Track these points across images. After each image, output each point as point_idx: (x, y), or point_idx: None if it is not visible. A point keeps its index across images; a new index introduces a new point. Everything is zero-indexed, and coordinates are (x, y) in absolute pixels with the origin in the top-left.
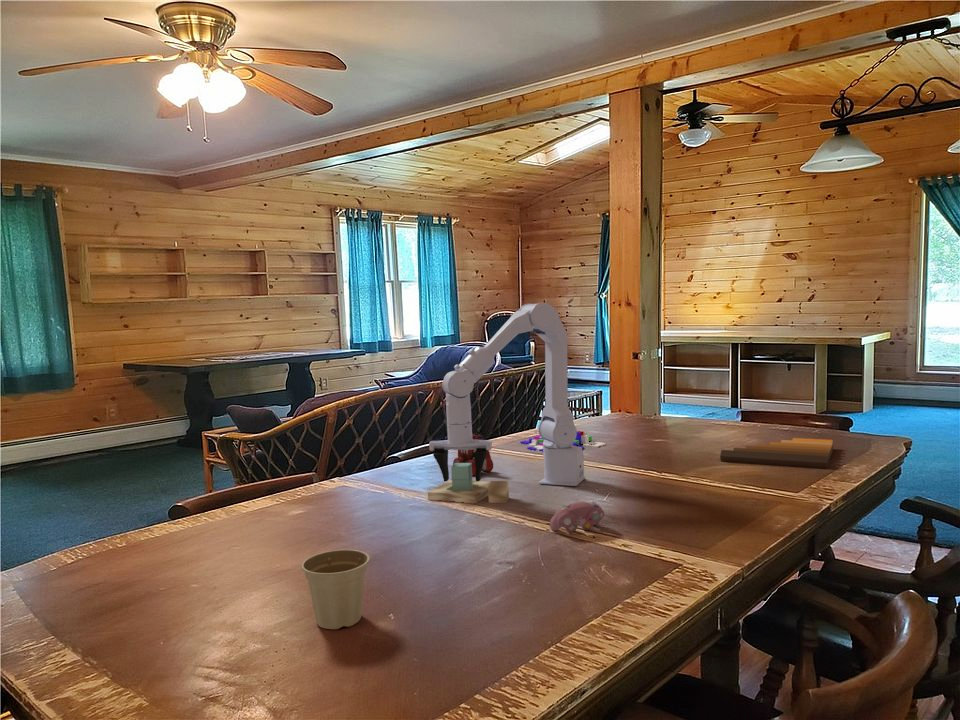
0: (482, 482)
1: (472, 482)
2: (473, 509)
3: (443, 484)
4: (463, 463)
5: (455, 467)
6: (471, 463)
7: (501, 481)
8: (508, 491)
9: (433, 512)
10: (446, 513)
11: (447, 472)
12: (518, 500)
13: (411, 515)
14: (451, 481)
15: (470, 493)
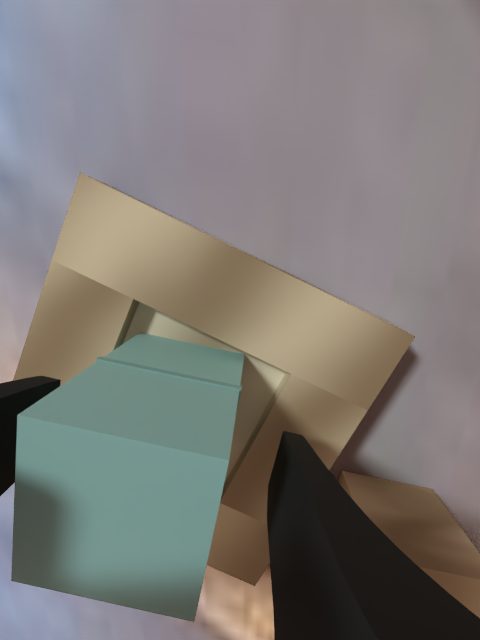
0: (314, 321)
1: (242, 368)
2: (245, 613)
3: (45, 317)
4: (128, 466)
5: (60, 583)
6: (229, 457)
7: (449, 588)
8: (452, 524)
9: (82, 611)
10: (136, 633)
11: (13, 428)
12: (470, 540)
13: (3, 624)
14: (88, 244)
15: (230, 544)
